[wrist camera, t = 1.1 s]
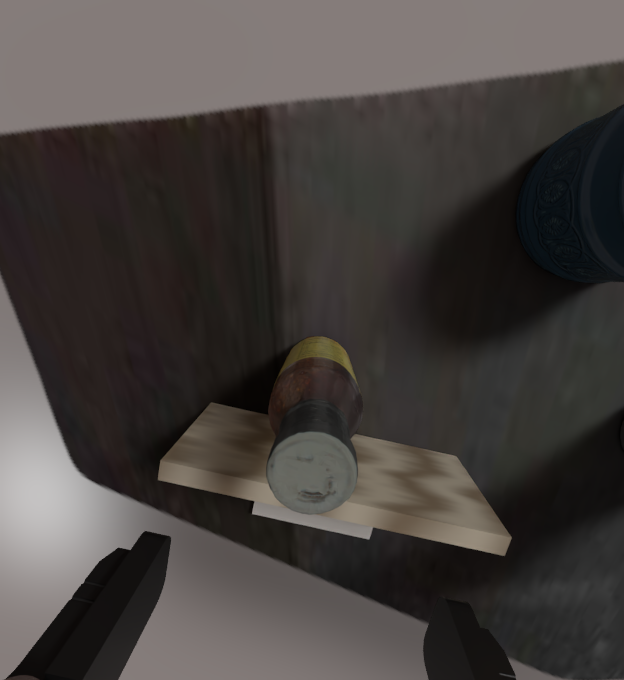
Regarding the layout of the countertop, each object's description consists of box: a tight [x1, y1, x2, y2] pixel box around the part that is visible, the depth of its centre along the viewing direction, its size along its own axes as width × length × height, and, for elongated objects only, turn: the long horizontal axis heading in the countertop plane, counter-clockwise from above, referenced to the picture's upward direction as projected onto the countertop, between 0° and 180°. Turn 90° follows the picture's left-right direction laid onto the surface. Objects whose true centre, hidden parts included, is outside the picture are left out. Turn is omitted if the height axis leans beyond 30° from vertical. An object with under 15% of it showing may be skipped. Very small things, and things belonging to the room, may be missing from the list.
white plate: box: [252, 501, 373, 539], centre depth 37 cm, size 13×8×1 cm, turn 78°
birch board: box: [158, 403, 512, 556], centre depth 30 cm, size 26×2×11 cm, turn 78°
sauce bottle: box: [266, 336, 363, 515], centre depth 24 cm, size 6×6×20 cm
